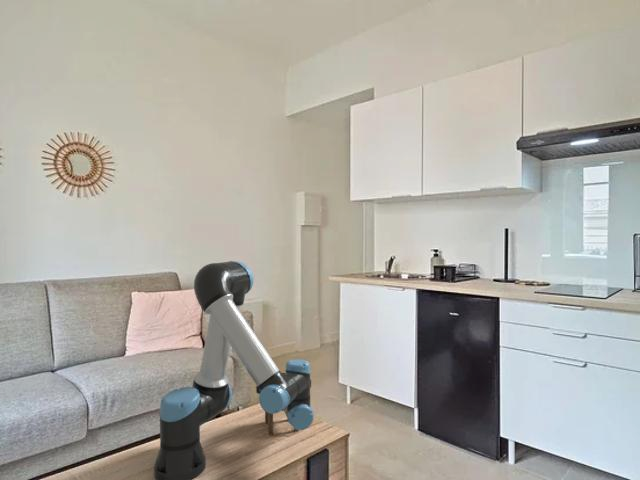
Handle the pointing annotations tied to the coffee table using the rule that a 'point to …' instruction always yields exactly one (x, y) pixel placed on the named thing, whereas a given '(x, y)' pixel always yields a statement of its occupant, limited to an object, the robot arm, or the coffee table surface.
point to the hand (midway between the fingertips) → (280, 378)
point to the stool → (271, 422)
